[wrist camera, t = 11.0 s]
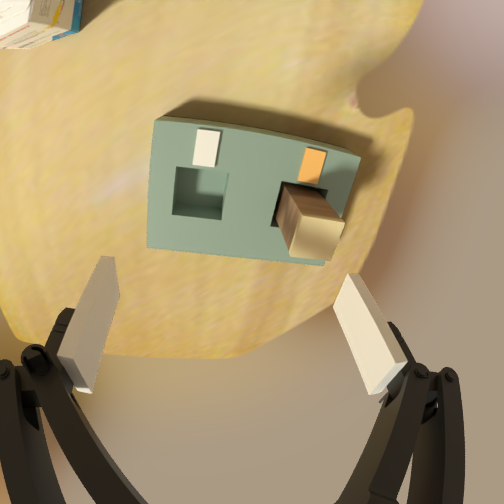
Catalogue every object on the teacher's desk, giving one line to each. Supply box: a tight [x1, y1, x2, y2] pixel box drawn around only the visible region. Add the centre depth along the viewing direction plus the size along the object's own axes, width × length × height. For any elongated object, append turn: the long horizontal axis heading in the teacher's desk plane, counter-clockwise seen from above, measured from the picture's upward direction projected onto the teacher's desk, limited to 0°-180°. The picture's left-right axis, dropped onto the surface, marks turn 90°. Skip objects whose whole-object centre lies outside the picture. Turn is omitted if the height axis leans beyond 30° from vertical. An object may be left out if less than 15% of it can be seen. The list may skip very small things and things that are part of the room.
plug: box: [274, 181, 345, 261], centre depth 33 cm, size 5×5×11 cm
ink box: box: [0, 0, 83, 49], centre depth 14 cm, size 9×8×12 cm
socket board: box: [147, 116, 361, 266], centre depth 35 cm, size 16×24×5 cm, turn 79°
